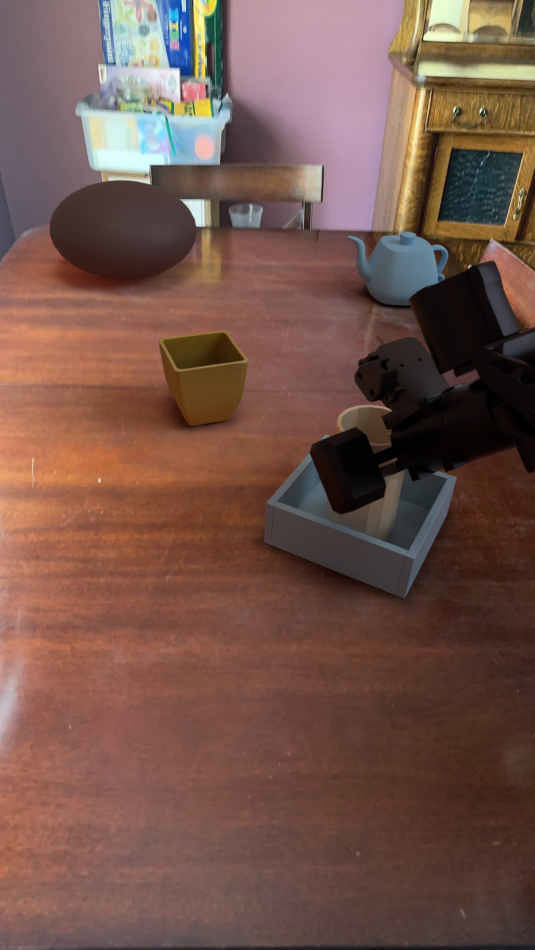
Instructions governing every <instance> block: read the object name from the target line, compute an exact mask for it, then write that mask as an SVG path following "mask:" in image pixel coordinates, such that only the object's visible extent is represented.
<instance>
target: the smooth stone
mask: <svg viewBox="0 0 535 950" xmlns="http://www.w3.org/2000/svg"><path fill="white" fill-rule="evenodd" d="M197 229H198V228H197V222H196V219H195V217H194V216H193V213H192V211H191V210H190V208H189V207H188V205H186V204H185V202H184V201H183V200H181V198H179V197H177V196H176V195H175V194H174V193H172V192H170V191H169V190H166V189H164V188H162V187H159V186H157V185H155V184H151V183H147V182H143V181H137V180H127V179H115V180H113V179H112V180H106V181H101V182H100V181H99V182H96V183H92V184H88V185H85V186H84V187H81V188H79V189H77V190H75V191H73V192H71V193H70V194H69V195H68V196H66V197H65V198H64V199H63V200H61V201H60V202H59V204H58V205H57V206H56V208H55V209H54V210H53V213H52V214H51V217H50V220H49V236H50V239H51V242H52V245H53V246H54V248H55V249H56V251H57V252H58V253H59V254H60V256H61V257H62V258H63V259H64V260H65V261H66V262H68V263H69V264H71V265H72V266H73V267H75V268H77V269H79V270H81V271H83V272H85V273H88V274H90V275H94V276H98V277H102V278H107V279H113V280H137V279H145V278H148V277H152V276H155V275H159V274H160V273H164V272H167V271H168V270H171V269H172V268H174V267H175V266H177V265H178V264H180V263H181V262H182V261H184V259H185V258H186V257H187V256H188V255H189V254H190V252H191V251H192V249H193V247H194V245H195V243H196V240H197V233H198V232H197V231H198V230H197Z"/></svg>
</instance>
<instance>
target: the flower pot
mask: <svg viewBox="0 0 535 950" xmlns="http://www.w3.org/2000/svg"><path fill="white" fill-rule="evenodd" d="M158 346H159V352H160V357H161V362H162V368H163V374H164V377H165V381H166V384H167V386H168V389H169V391H170V393H171V395H172V398H173V399H174V401H175V404H176V405H177V407H178V409H179V410H180V412H181V414H182V417H183V418H184V420H185V422H186V423H187V424H188V425H189V426H191V427H195V426H200V425H201V426H202V425H205V424H213V423H217V422H225V421H228V420H229V419H230V418H231V417H232V416H233V415H234V414H235V412H236V411H237V410H238V408H239V406H240V404H241V402H242V400H243V396H244V392H245V386H246V379H247V372H248V365H249V359H248V357H247V356H246V355H245V354H244V352H243V351H242V350H241V349H240V347H239V346H238V345H237V344H236V342H235V340H234V339H233V337H232V336H231V335H230V333H229V332H228V331H226V330H215V331H208V332H200V333H193V334H185V335H184V334H183V335H177V336H168V337H161V338H159V339H158Z"/></svg>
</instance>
